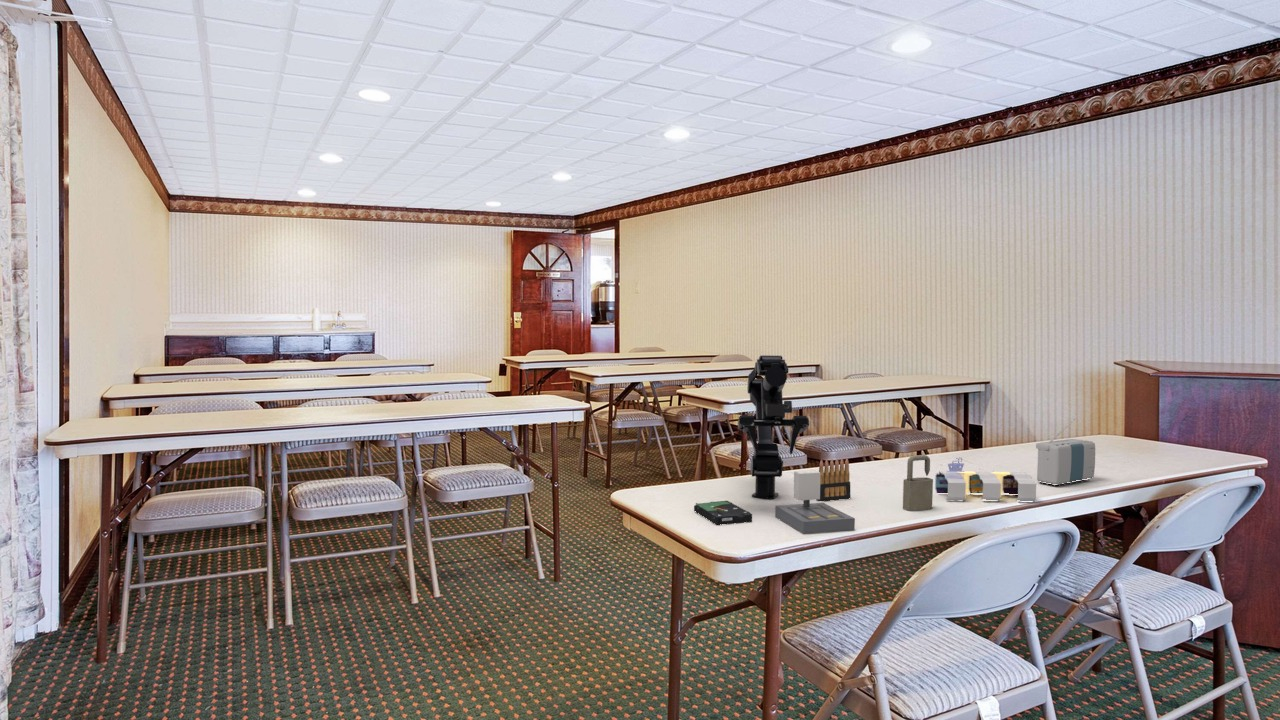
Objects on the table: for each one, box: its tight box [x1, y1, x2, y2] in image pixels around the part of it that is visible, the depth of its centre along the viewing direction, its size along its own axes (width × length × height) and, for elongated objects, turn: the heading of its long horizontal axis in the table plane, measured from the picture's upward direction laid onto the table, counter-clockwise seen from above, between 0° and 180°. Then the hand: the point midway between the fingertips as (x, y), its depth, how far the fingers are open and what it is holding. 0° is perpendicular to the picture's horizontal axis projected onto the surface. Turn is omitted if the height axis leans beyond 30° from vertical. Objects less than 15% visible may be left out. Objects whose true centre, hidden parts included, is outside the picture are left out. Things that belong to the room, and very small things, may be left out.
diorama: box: [934, 457, 1037, 502], centre depth 218 cm, size 25×10×13 cm, turn 88°
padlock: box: [902, 454, 934, 512], centre depth 206 cm, size 4×8×15 cm, turn 111°
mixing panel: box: [774, 502, 856, 535], centre depth 190 cm, size 16×14×3 cm
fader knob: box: [793, 469, 820, 507], centre depth 194 cm, size 3×6×9 cm, turn 105°
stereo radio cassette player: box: [1035, 418, 1096, 484], centre depth 241 cm, size 21×8×20 cm, turn 119°
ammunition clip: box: [816, 457, 852, 502], centre depth 216 cm, size 11×2×12 cm, turn 111°
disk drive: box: [693, 500, 753, 526], centre depth 197 cm, size 10×3×15 cm
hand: (773, 453), depth 200 cm, fingers open, 9 cm apart
